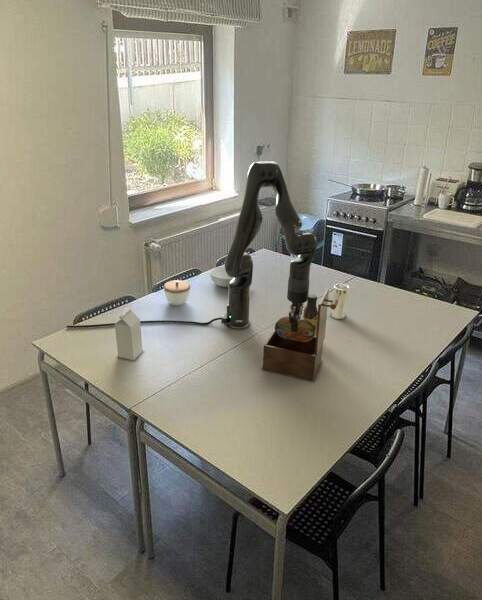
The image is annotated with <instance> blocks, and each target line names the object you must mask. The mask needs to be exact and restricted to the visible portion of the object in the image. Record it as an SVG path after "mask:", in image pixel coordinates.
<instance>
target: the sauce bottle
mask: <svg viewBox="0 0 482 600" xmlns="http://www.w3.org/2000/svg"><path fill="white" fill-rule="evenodd" d="M317 301H318V295H317V294H315V293H308V300H307V301H306V302H307V303H306V306H305V307H304V308H303V314H302V315H303V316H302V320H307V321H309V322H311V323H312V324H313V325H314V327H315V335H314V336H316V331H317V317H318V306H317Z"/></svg>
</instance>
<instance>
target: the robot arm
mask: <svg viewBox="0 0 482 600" xmlns="http://www.w3.org/2000/svg"><path fill="white" fill-rule="evenodd" d="M262 188H271V189H272V190H273V191H274V193H275V199H276V200H275V205H274V206H275V207H274V211H275V216H276V219H277V221H278V223H279V226H280V227H281V229H282V231H283V235H284V237H283V238H284V242H285V247H286V250H287V251H288V253H290V255H292V256H297V257H295V258H294V259H292V260H291V261H290V263H289V272H288V273H289V274H288V280H287V281H288V282H287V294H286V299H287V300H288V301H289V302H290V303H291V304H290V308H289V309H290V311H288V317H289V322H290V324H291V331H292V332H297V326H298V319H302V315H303V312H304V304H305V303H306V302H307V301H308V295H309V294H310V293H309V292H310V274H311V273H310V271H311V265H312V263H313V260H314V258H315V255H316V252H317V249H318V240H317V237H316V235H315V234H314V233H312V232H302V233H297V232H299V231H300V230H301V228H302V227H303V221H302V220H301V217H300V215H299V214H298V212H297V210H296V208H295V206H294V204H293V201H292V199H291V196H290V193H289V191H288V186H287V184H286V180H285V177H284V175H283V172H282V169H281V167H280V165H279V164H278V163H277V162H276V161H271V160H270V161H254V162H253V163H251V165H250V166H249V170H248V172H247V178H246V184H245V189H244V196H243V200H242V204H241V208H240V212H239V216H238V218H237V223H236V226H235V230H234V235H233V238H232V241H231V245H230V247H229V249H228V252H227V255H226V257H225V262H224V266H225V271H226V273H227V275H228V276H230V277H234V278H233V279H232V280H231V281H230V282H229V287H228V300H227V301H228V303H227V305H226V312H225V313H224V314H223V316H222V317H216V318H213V319H210V321H207V322H198V321H191V320H187V321H186V320H166V319H165V320H162V319H161V320H140V324H151V323H155V324H156V323H158V324H159V323H171V324H172V323H175V324H193V325H199V326H206V325H210V324H211V323H213V322H215V321H220V320H221V322H220V323H221V324H224V325H226V326H228V327H229V328H232V329H235V330H242V329H243V330H244V329H246V328H247V327H249V326H250V301H251V299H250V298H251V285H252V283H253V273H254V262H253V258H252V255H250V254H249V253H248V252H246V251H247V250H248V248H249V247H250V246H251V244H252V243H253V242H254V241H255V239H256V238H257V237H258V235H259V233H260V230H261V227H262V223H263V219H264V218H263V213H262V210H261V206H260V204H259V194H260V190H261V189H262ZM115 323H116V322H112V323H111V322H110V323H99V324H83V325H81V324H79V325H66V328H67V329H68V328H69V329H70V328H77V329H78V328H79V329H80V328H97V327H98V328H99V327H108V326H109V327H110V326H115Z"/></svg>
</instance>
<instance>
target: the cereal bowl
mask: <svg viewBox="0 0 482 600" xmlns="http://www.w3.org/2000/svg"><path fill="white" fill-rule="evenodd" d="M233 278H234V277H230V276H228V275H227V273H226V271H225V265H222V266H221V265H220V266H216V267H214V268H212V269H211V271H210V279H211V281H212V282H213V283H214V284H215V285H216V286H219V287H222V288H229V282H230V281H231V280H232V279H233Z"/></svg>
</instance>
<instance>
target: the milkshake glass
mask: <svg viewBox="0 0 482 600" xmlns="http://www.w3.org/2000/svg"><path fill="white" fill-rule="evenodd" d="M349 296H350V286H349V285H347V284H345V283H336V284H335V285H333V291H332V300H333V299H338V304H337V306H336V308H335V309H332V311H331V317H332V318H333V319H337V320H343V319H345V317H346V312H345V311H346V306H347V304H348V300H349Z"/></svg>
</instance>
